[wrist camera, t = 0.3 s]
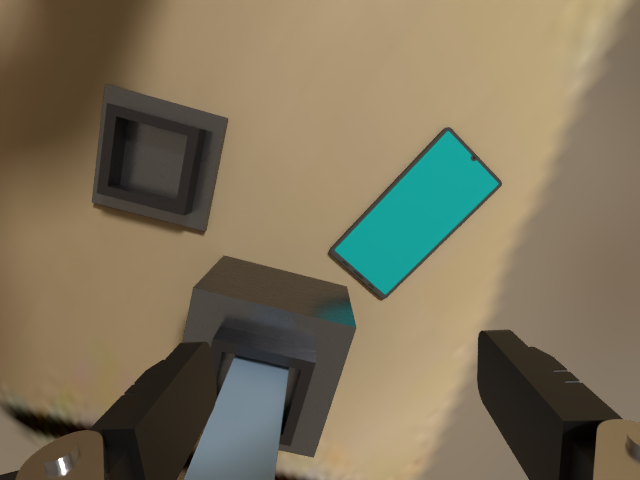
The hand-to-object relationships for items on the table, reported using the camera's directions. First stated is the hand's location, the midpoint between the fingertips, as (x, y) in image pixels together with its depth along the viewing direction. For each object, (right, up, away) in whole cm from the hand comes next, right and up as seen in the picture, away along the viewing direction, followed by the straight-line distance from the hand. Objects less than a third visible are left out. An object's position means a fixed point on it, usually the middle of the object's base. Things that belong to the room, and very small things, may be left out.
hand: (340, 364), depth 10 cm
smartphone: (+8, +6, +21) cm, 23 cm away
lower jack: (-15, +11, +19) cm, 26 cm away
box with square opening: (-5, -5, +23) cm, 24 cm away
